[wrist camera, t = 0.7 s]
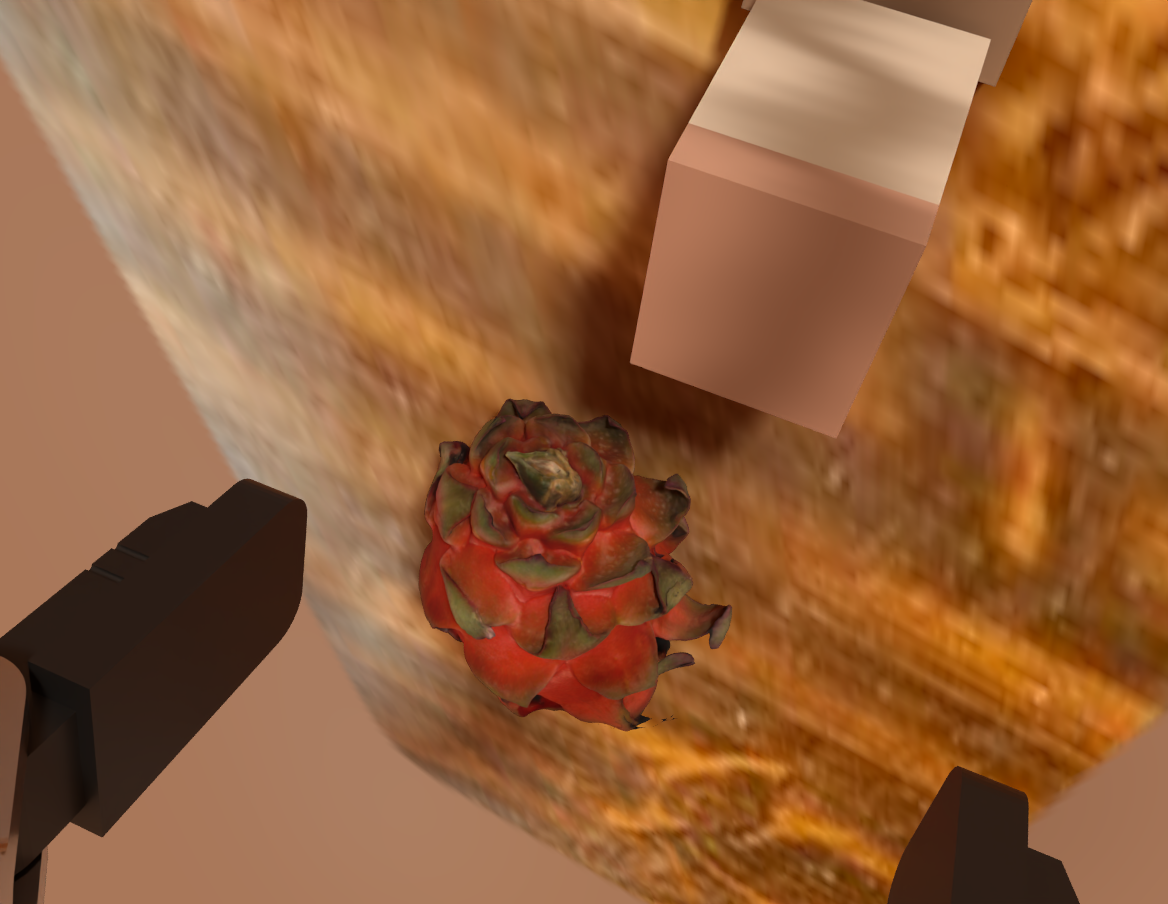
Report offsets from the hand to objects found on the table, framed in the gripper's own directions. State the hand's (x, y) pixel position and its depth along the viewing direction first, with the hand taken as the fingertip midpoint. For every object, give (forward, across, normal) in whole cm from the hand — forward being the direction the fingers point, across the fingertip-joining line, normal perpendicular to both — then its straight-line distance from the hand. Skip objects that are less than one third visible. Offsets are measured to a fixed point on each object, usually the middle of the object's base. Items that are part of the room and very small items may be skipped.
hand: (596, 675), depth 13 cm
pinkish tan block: (+19, +1, -1) cm, 19 cm away
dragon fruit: (+20, +4, +13) cm, 24 cm away
